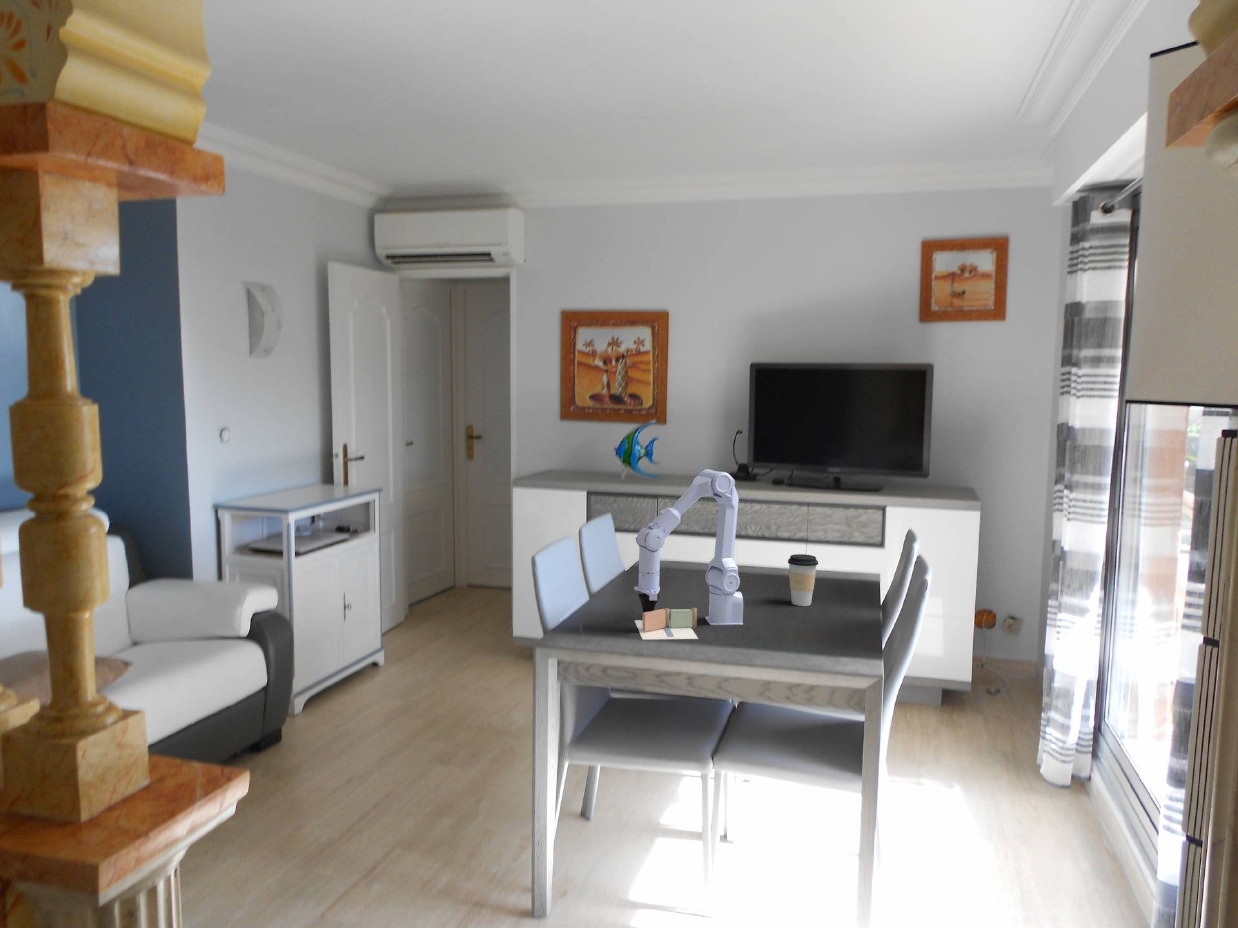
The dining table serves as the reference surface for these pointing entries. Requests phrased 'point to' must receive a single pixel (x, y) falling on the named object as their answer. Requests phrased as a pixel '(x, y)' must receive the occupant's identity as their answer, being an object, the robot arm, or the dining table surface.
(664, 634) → the card
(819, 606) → the dining table surface
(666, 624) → the fence panel
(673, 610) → the fence fixed
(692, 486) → the robot arm
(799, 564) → the coffee cup
